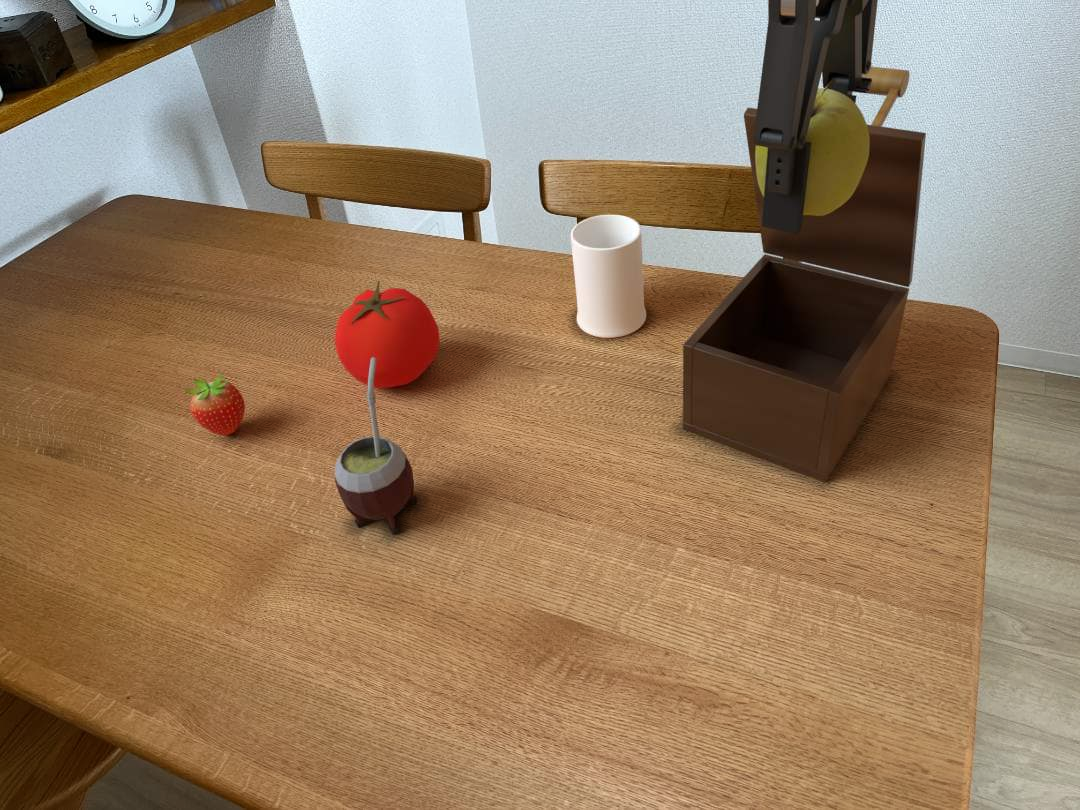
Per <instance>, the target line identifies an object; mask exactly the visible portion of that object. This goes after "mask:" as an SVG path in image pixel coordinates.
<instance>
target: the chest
mask: <svg viewBox="0 0 1080 810" xmlns="http://www.w3.org/2000/svg"><path fill="white" fill-rule="evenodd" d="M909 293H910V287H906V286H901V285H897V284H893V283H889V282H884V281H880V280H876V279H872V278H868V277H863V276H859V275H855V274H851V273H847V272H842V271H838V270H834V269H830V268H826V267H821V266H817V265H813V264H809V263H805V262H800V261H796V260H792V259H788V258H784V257H779V256H774V255H771V254H767V253H763V255H762V256H761V258H760V259H759V260H758V261H757V262H756V263H755V264H754V265H753V266H752V268H751V269H749V270H748V272H747V273H746V274H745V275H744V277H743V278H742V279H741V280H740V281H739V282H738V283H737V284H736V285H735V286H734V287H733V289H731V291H730V292H729V293H728V294H727V295H726V296H725V298H723V300H721V302H720V303H719V304H718V305H717V306H716V308H715V309H714V310H713V311H712V312H711V313H710V314H709V315H708V317H707V318H706V319H705V320H704V321H703V322H702V323H701V324H700V325H699V327H697V329H696V330H695V331H694V332H693V333H692V334H691V336H689V337H688V339H687V340H686V341H685V342H684V343H683V345H682V430H684V431H686V432H689V433H692V434H695V435H697V436H700V437H703V438H704V439H708V440H710V441H713V442H715V443H718V444H720V445H724V446H726V447H729V448H732V449H733V450H734V449H735V450H737V451H740V452H742V453H745V454H747V455H750V456H753V457H756V458H758V459H761V460H764V461H766V462H769V463H770V464H771V463H772V464H774V465H777V466H780V467H782V468H785V469H788V470H791V471H793V472H795V473H798V474H801V475H804V476H806V477H809V478H812V479H814V480H817V481H819V482H822V483H826V482H827V481H828V479H829V477H830V475H831V473H832V472H833V471H834V469H835V468H836V465H837V464H838V463H839V460H840V459H841V457H842V456H843V454H844V452H845V450H846V449H847V448H848V445H849V444H850V443H851V441H852V439H853V437H854V436H855V434H856V432H857V431H858V429H859V428H860V426H861V424H862V423H863V421H864V419H865V418H866V416H867V414H868V412H869V411H870V409H871V408H872V406H873V404H874V403H875V401H876V400H877V398H878V396H879V395H880V393H881V391H882V389H883V388H884V387H885V384H886V383H887V382H888V380H889V378H890V376H891V373H892V369H893V364H894V359H895V356H896V350H897V346H898V342H899V337H900V333H901V329H902V324H903V319H904V315H905V311H906V306H907V301H908V297H909Z"/></svg>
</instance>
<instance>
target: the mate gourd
mask: <svg viewBox="0 0 1080 810" xmlns="http://www.w3.org/2000/svg"><path fill="white" fill-rule="evenodd" d="M375 366H376V358H371V361H370V369H369V377H368V385H367V392H366V401H367V404H368V408H369V415H370V423H371V429H372V436H365V437H362V438H359V439H357V440H354V441H352V442H351V443H350V444H349V445H347V446H346V447H345V448H344V449H343V451H341V453H340V454H339V457H337V460H336V463H335V468H334V482H335V486H336V489H337V493H338V494H339V496H340V498H341V500H342V503H343V505H344V507H345V508H346V510H347V511H348V512H349V513H350V514H351V516H353V517H354V518H355V519H354V523H355V525H356V526H357V528H361V527H364V526H366V525H369V524H372V523H374V522H377V521H379V520H385V522H386V525H387V526H388V527H387V528H389V531H390V533H391V534H392V536H394V535H395V536H396V535H398V534H400V533H401V531H400V527H399V525H398V523H397V520H396V518H395V516H396V515H397V514H398V513H399V512H400V511H403V510H405V509H407V508H410V507H412V506H415V505H417V504H418V498H417V496H416V495H415V494H414V491H415V479H414V472H413V467H412V465H411V463H410V461H409V459H408V457H407V455H406V453H405V452H404V451H403V448H402V447H401V446H400V445H398V444H397V443H395V442H393V441H391V440H390V439H387V438H386V437H381V436H380V432H379V424H378V417H377V411H376V410H377V409H376V403H377V400H376V399H377V398H376V392H375V390H374V389H375V387H374V375H375Z"/></svg>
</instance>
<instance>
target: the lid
mask: <svg viewBox="0 0 1080 810" xmlns="http://www.w3.org/2000/svg"><path fill="white" fill-rule="evenodd" d="M862 77H863V78H872V83H871V87H870V90H869V92H868V93H866V95H867V94H869V95H877V96H883V97H885V98H884V100H883V102H882V103H881V105H880V107H879V109H878V111H877V113H876V115H875V117H874V118H873V121H872V122H871V124H867V127H868V132H869V138H870V147H869V157H868V161H867V164H866V167H865V169H864V172H863V174H862V177H861V179H860V181H859V184H858V186H857V188H856V190H855V191H854V193H853V195H852V196H851V197H850V199H848V200H847V201H846V202H845V203H844V204H843V205H841V206H840V207H839V208H837V209H836V210H834V211H832V212H831V213H829V214H826V215H822V216H815V215H803V220H802V229H801V230H800V231H799V233H798V234H795V233H790V232H786V231H781V230H777V229H772V228H768V227H763V226H762V215H763V202H764V197H763V195H762V193H761V190H760V187H759V184H758V179H757V174H756V160H755V151H756V145H754V143H753V136H754V130H755V122H756V114H757V108H755V107H747V108H746V110H745V111H744V113H743V121H744V127H745V135H746V143H747V147H748V155H749V161H750V163H749V164H750V169H751V174H752V175H751V176H752V184H753V190H754V197H755V204H756V211H757V218H758V225H759V233H760V238H761V246H762V252H763V254H766V255H770V256H774V257H779V258H783V259H787V260H791V261H795V262H800V263H804V264H808V265H812V266H816V267H821V268H825V269H829V270H833V271H837V272H842V273H846V274H850V275H854V276H858V277H863V278H867V279H871V280H875V281H879V282H884V283H888V284H892V285H896V286H901V287H905V288H910V286H911V285H912V282H913V274H914V265H915V264H914V263H915V253H916V244H917V232H918V224H919V223H918V222H919V210H920V200H921V189H922V181H923V180H922V179H923V169H924V158H925V149H926V148H925V147H926V139H927V133H926V132H922V131H915V130H907V129H901V128H894V127H888V126H883V125H884V123H885V121H886V120H887V117H888V116H889V114H890V112H891V110H892V108H893V106H894V104H895V102H896V101H897V100H898V98H899V99H901V98H903V97H904V96H905V93H906V92H907V89H908V85H909V82H910V70H907V69H898V68H889V67H881V66H871V68H870V70H869V71H868V73H867V74H862ZM858 93H859V94H861V93H860V92H858Z"/></svg>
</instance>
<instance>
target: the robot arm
mask: <svg viewBox="0 0 1080 810" xmlns="http://www.w3.org/2000/svg"><path fill="white" fill-rule="evenodd" d="M878 1H879V0H767V2H768V3H767V5H768V7H767V10H768V11H767V13H768V15H767V16H768V18H767V29H766V36H765V45H764V52H763V60H762V69H761V76H760V85H759V92H758V100H757V106H756V109H757V114H756V122H755V130H754V136H753V143H754V145H756V146H762V147H768V151H767V164H766V176H765V189H764V202H763V215H762V226H763V227H768V228H772V229H777V230H781V231H786V232H790V233H795V234H798V233H799V231H800V230H801V229H802V220H803V212H804V203H805V194H806V185H807V177H808V168H809V159H810V150H811V142H806V136H807V132H808V128H809V124H810V120H811V116H812V111H813V107H814V103H815V99H816V95H817V90H818V88H819V86H820V81H821V79H822V88H826V86H827V85H828V84H829V83H830V82H831V81H832V80H833V79H834V78H837V79H836V81H834V82H833V83H832V84H831V85H829V87H828V88H827V89H832V90H835V91H838V92H840V93H842V94H844V95H846V96H847V97H849V98H850V99H851V100H852V101H853V102H854V103H855V104H857V103H856V102H857V95H855V94H854V93H859V92H860V93H859V94H867V93H868V92H869V90H870V87H871V83H872V78H863V77H862V74H867V73H868V71H869V70H870V68H871V67H872V59H873V50H874V49H873V48H874V40H875V32H876V31H875V29H876V20H877V10H878Z"/></svg>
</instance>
